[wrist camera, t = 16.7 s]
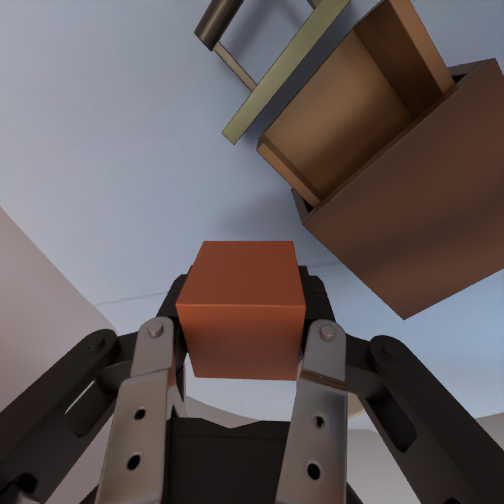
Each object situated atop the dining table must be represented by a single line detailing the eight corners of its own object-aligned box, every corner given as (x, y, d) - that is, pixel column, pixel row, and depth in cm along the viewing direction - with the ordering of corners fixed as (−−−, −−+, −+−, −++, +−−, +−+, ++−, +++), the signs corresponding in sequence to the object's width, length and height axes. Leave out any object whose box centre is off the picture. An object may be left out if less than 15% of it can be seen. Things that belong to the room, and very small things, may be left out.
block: (213, 305, 14) (194, 378, 10) (203, 240, 12) (174, 304, 8) (288, 306, 14) (296, 381, 10) (293, 240, 11) (306, 306, 8)
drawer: (187, 80, 21) (155, 69, 15) (296, -99, 16) (318, -232, 10) (327, 220, 28) (345, 253, 22) (438, 128, 22) (506, 137, 16)
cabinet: (290, 189, 27) (301, 224, 19) (409, 75, 21) (495, 57, 13) (369, 268, 32) (403, 320, 24) (482, 193, 26) (575, 231, 18)
